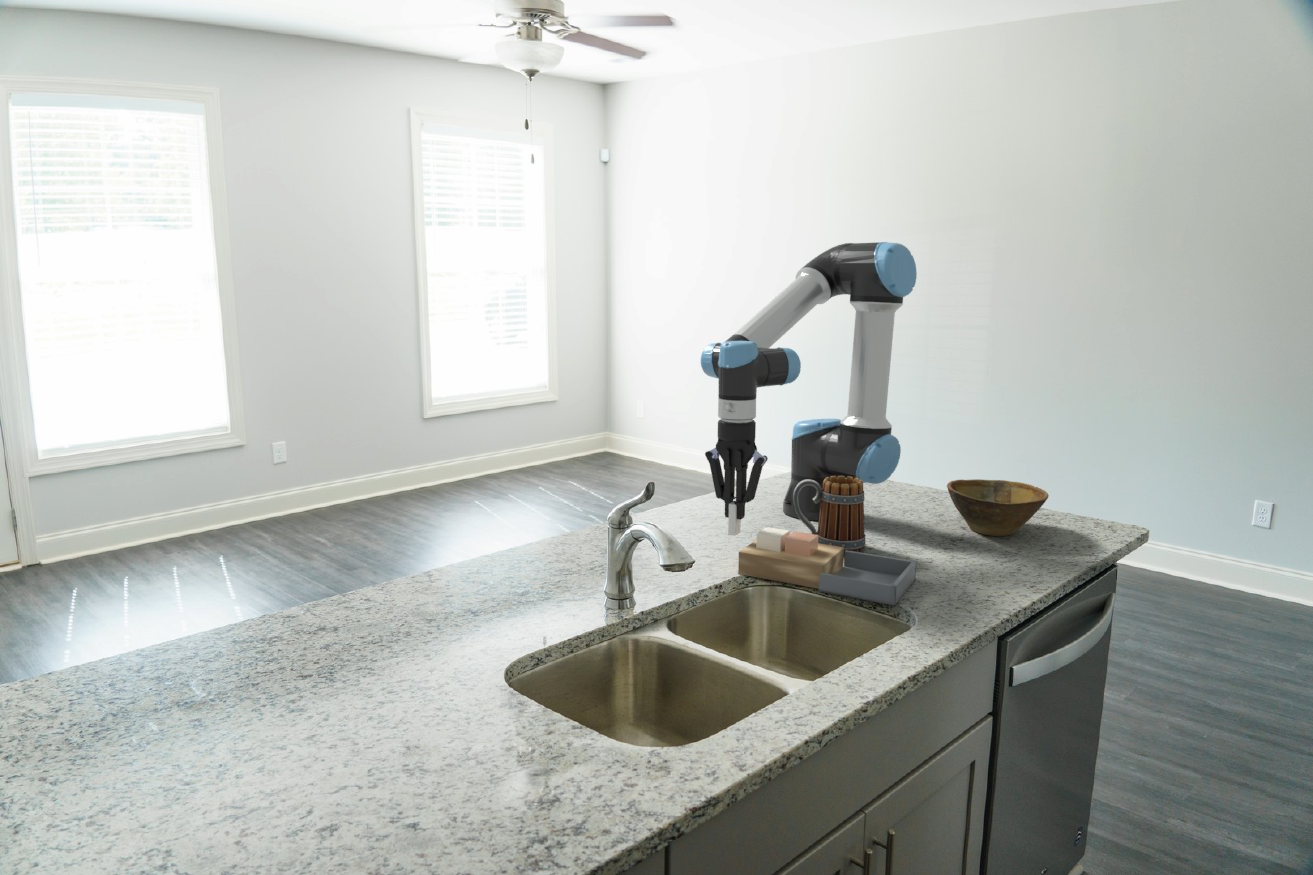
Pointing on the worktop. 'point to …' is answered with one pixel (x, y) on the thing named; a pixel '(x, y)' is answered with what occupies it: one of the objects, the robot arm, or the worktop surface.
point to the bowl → (995, 504)
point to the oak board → (790, 564)
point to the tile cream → (772, 539)
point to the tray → (870, 578)
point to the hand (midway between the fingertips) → (734, 533)
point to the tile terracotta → (801, 543)
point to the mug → (837, 512)
